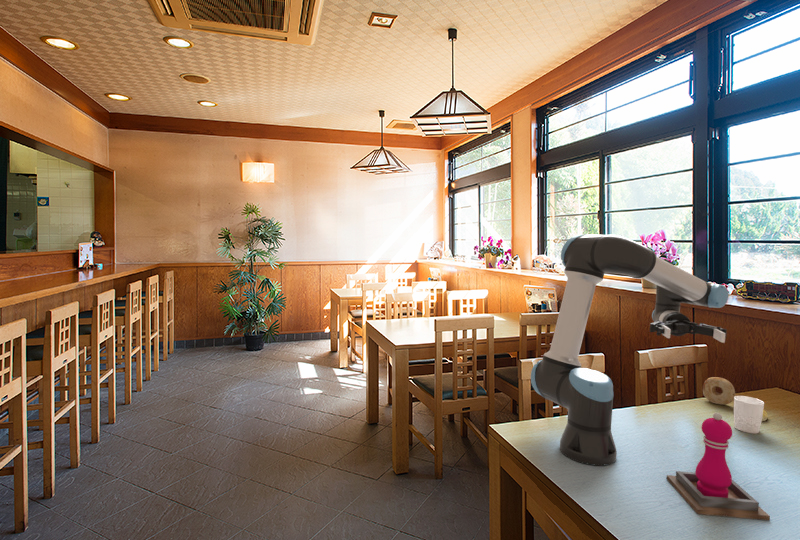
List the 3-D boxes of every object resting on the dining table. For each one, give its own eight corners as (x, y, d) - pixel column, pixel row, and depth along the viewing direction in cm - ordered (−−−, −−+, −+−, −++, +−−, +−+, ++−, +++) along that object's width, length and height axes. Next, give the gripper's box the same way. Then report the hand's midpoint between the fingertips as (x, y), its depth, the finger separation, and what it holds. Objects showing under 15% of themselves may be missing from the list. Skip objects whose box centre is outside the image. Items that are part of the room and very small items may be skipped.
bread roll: (734, 416, 159) (735, 405, 159) (742, 410, 165) (742, 400, 165) (763, 424, 153) (764, 413, 153) (770, 418, 159) (771, 407, 158)
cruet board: (697, 513, 101) (698, 501, 101) (666, 478, 116) (667, 467, 116) (769, 520, 99) (770, 507, 99) (728, 483, 114) (729, 472, 114)
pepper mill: (696, 481, 113) (701, 404, 111) (731, 492, 108) (737, 412, 107) (692, 494, 107) (697, 413, 106) (729, 506, 103) (735, 421, 101)
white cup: (767, 435, 143) (769, 405, 143) (739, 433, 145) (741, 403, 144) (753, 425, 151) (755, 396, 150) (727, 423, 153) (729, 394, 152)
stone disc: (700, 400, 174) (702, 375, 174) (703, 398, 177) (705, 373, 176) (732, 408, 166) (734, 382, 165) (735, 406, 169) (737, 380, 168)
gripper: (717, 337, 145) (746, 352, 124) (632, 330, 152) (646, 344, 132) (719, 314, 144) (748, 326, 124) (633, 309, 151) (648, 319, 131)
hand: (695, 335), depth 128 cm, fingers open, 13 cm apart
